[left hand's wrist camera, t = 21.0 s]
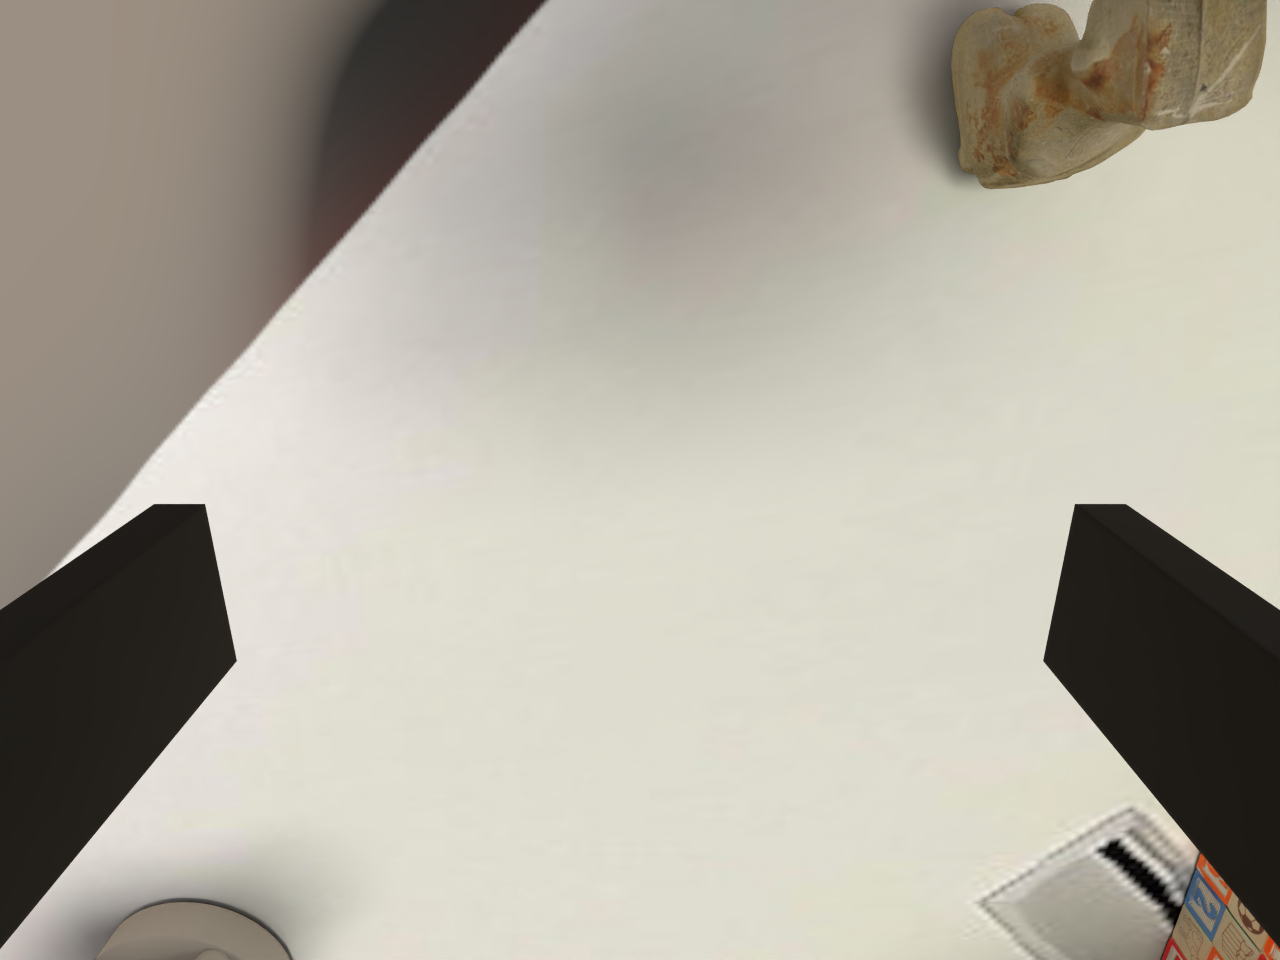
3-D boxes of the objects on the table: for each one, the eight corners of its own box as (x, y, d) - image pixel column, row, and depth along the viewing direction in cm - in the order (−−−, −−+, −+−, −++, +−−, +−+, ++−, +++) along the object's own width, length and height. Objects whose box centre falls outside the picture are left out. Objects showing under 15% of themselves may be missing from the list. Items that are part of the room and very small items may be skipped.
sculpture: (1067, 5, 36) (1345, -102, 22) (1052, 180, 38) (1290, 187, 24) (932, 17, 36) (1121, -81, 22) (925, 191, 38) (1090, 204, 24)
